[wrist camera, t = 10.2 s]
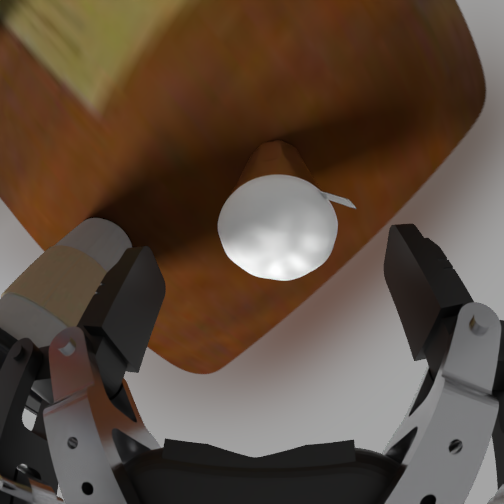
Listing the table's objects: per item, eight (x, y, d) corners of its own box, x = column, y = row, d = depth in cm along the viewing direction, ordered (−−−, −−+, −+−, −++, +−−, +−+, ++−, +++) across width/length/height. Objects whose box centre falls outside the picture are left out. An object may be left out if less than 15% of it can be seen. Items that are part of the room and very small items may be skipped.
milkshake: (336, 156, 16) (391, 249, 8) (277, 208, 19) (278, 327, 11) (283, 105, 15) (298, 149, 7) (225, 165, 17) (182, 265, 9)
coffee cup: (49, 213, 20) (-53, 337, 8) (125, 183, 18) (-11, 354, 6) (95, 290, 26) (33, 417, 14) (172, 281, 24) (115, 448, 12)
